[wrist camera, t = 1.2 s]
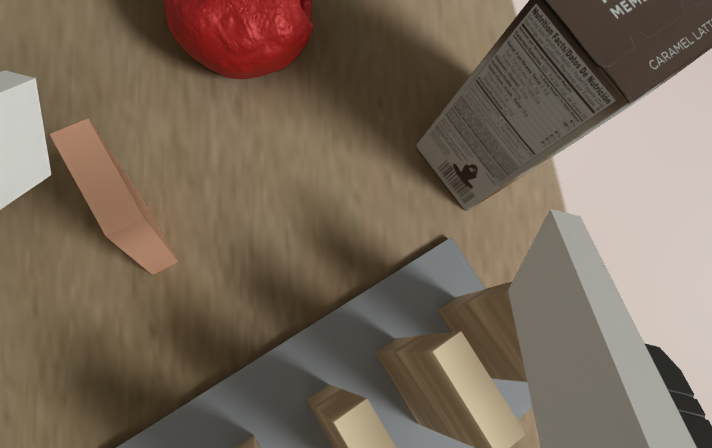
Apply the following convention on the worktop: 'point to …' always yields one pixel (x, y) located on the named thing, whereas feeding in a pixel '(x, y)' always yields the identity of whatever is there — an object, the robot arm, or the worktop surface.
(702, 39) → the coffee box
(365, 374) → the slate board
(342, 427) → the tile
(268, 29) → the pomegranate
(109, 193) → the tile
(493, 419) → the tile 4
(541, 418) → the robot arm
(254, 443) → the tile
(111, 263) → the worktop surface
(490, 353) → the wooden block
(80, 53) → the worktop surface
